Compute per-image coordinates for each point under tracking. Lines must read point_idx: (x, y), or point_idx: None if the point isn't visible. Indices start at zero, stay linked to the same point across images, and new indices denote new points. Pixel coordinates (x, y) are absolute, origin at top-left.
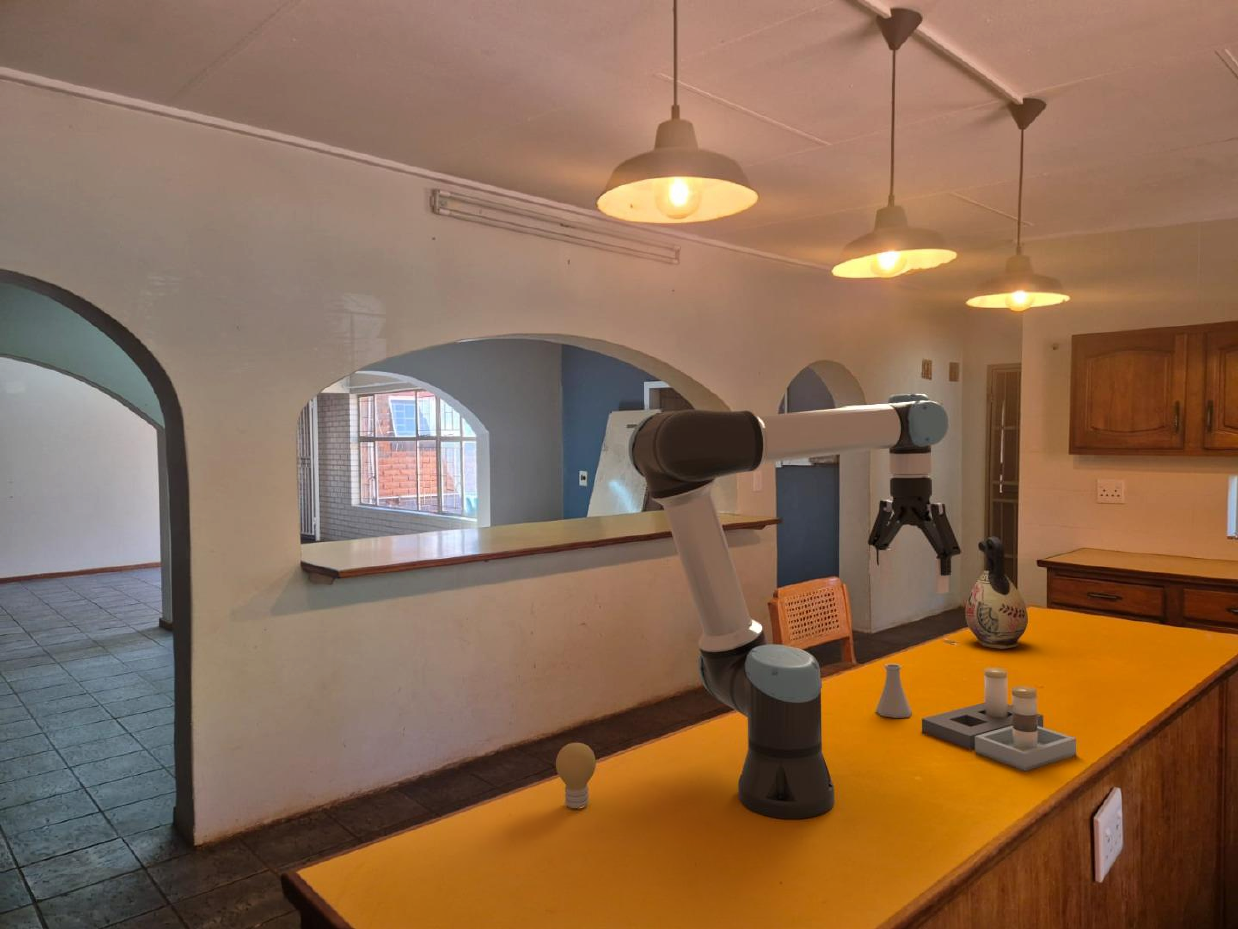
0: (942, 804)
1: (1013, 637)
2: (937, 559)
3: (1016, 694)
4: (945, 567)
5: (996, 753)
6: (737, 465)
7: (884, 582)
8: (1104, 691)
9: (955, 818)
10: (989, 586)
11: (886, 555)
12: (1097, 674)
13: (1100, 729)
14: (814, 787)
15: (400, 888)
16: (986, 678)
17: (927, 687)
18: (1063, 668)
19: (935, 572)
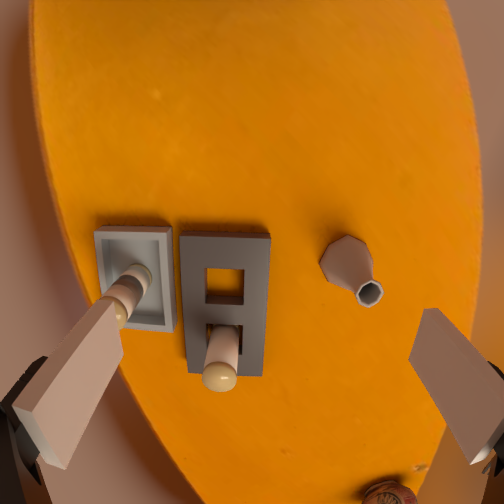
0: (95, 69)
1: (365, 499)
2: (15, 400)
3: (108, 298)
4: (19, 381)
5: (136, 228)
6: None
7: (421, 324)
8: (236, 470)
9: (71, 60)
10: None
11: (474, 418)
12: (271, 492)
13: (159, 395)
14: None
15: None
16: (225, 360)
17: (374, 372)
18: (302, 488)
19: (64, 354)
